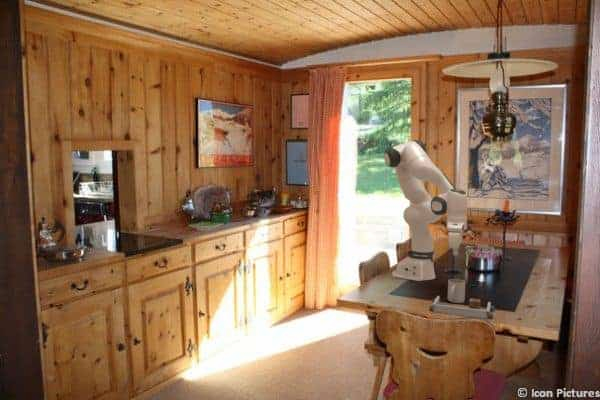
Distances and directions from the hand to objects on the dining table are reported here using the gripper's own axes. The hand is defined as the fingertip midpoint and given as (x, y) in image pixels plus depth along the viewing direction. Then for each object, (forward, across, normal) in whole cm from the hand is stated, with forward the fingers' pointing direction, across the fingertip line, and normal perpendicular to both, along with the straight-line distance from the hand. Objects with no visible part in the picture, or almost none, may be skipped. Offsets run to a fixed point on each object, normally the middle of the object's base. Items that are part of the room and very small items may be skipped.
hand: (455, 254), depth 229 cm
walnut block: (+19, +20, +10) cm, 30 cm away
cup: (+19, +9, +1) cm, 21 cm away
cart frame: (+19, +20, +5) cm, 28 cm away
